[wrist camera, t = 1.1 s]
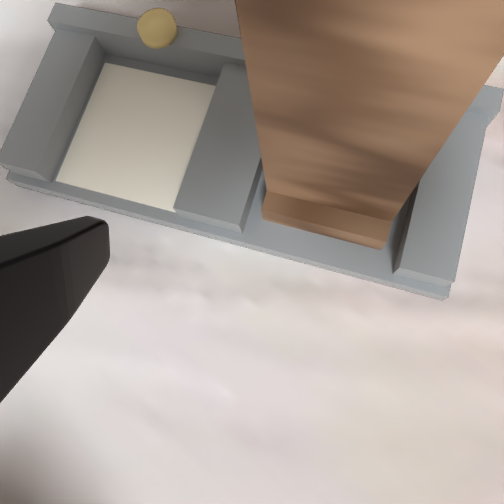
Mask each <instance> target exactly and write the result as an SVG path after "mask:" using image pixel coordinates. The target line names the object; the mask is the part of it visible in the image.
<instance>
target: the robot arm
mask: <svg viewBox="0 0 504 504" xmlns="http://www.w3.org/2000/svg"><path fill="white" fill-rule="evenodd" d="M109 258H110V243H109V227H108V224H107V223H106V222H105V221H104V220H101V219H97V218H94V217H90V216H85V217H81V218H76V219H72V220H68V221H63V222H59V223H54V224H50V225H46V226H41V227H37V228H33V229H28V230H24V231H20V232H15V233H11V234H7V235H2V236H0V403H1V402H2V400H3V399H4V398H5V397H6V396H7V394H8V393H9V392H10V391H11V390H12V388H13V387H14V386H15V385H16V384H17V383H18V381H19V380H20V379H21V378H22V377H23V375H24V374H25V373H26V372H27V371H28V369H29V368H30V367H31V366H32V365H33V364H34V362H35V361H36V360H37V359H38V358H39V356H40V355H41V354H42V353H43V352H44V350H45V349H46V348H47V347H48V346H49V345H50V343H51V342H52V341H53V340H54V339H55V337H56V336H57V335H58V334H59V333H60V331H61V330H62V329H63V328H64V327H65V325H66V324H67V323H68V322H69V320H70V319H71V318H72V316H73V315H74V313H75V312H76V311H77V309H78V308H79V306H80V305H81V303H82V302H83V300H84V299H85V297H86V296H87V294H88V293H89V291H90V290H91V288H92V287H93V285H94V284H95V282H96V281H97V279H98V278H99V276H100V275H101V273H102V272H103V270H104V269H105V267H106V266H107V264H108V261H109Z"/></svg>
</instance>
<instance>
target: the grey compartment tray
mask: <svg viewBox="0 0 504 504" xmlns="http://www.w3.org/2000/svg"><path fill="white" fill-rule="evenodd" d="M47 21H48V22H49V24H50V25H51V26H52V28H53V29H54V30H55V33H54V35H53V37H52V40H51V42H50V44H49V46H48V48H47V51H46V53H45V55H44V57H43V59H42V62H41V64H40V66H39V68H38V70H37V72H36V75H35V77H34V79H33V81H32V83H31V86H30V88H29V90H28V92H27V94H26V97H25V99H24V101H23V103H22V105H21V108H20V110H19V112H18V114H17V116H16V119H15V121H14V123H13V125H12V127H11V130H10V132H9V134H8V136H7V138H6V141H5V143H4V145H3V147H2V149H1V151H0V165H2V166H3V167H5V168H6V169H8V170H9V173H8V175H7V177H6V179H7V180H9V181H10V182H12V183H14V184H15V185H17V186H20V187H24V188H28V189H31V190H35V191H39V192H43V193H46V194H50V195H54V196H57V197H61V198H65V199H68V200H72V201H76V202H79V203H83V204H87V205H91V206H94V207H98V208H102V209H105V210H109V211H113V212H116V213H120V214H124V215H128V216H131V217H135V218H139V219H142V220H146V221H150V222H153V223H157V224H161V225H165V226H168V227H172V228H176V229H179V230H183V231H187V232H190V233H194V234H198V235H202V236H205V237H209V238H213V239H216V240H220V241H224V242H227V243H231V244H235V245H239V246H242V247H246V248H250V249H253V250H257V251H261V252H264V253H268V254H272V255H276V256H279V257H283V258H287V259H290V260H294V261H298V262H301V263H305V264H309V265H313V266H316V267H320V268H324V269H327V270H331V271H335V272H338V273H342V274H346V275H350V276H353V277H357V278H361V279H364V280H368V281H372V282H375V283H379V284H383V285H387V286H390V287H394V288H398V289H401V290H405V291H409V292H412V293H416V294H420V295H424V296H427V297H431V298H435V299H438V300H444V299H446V298H448V297H449V292H450V288H451V284H452V283H453V282H455V277H456V272H457V267H458V263H459V258H460V253H461V248H462V243H463V238H464V233H465V228H466V224H467V219H468V214H469V209H470V204H471V199H472V194H473V189H474V184H475V180H476V175H477V170H478V165H479V160H480V155H481V150H482V145H483V141H484V136H485V131H486V128H487V126H488V125H489V124H490V123H491V121H492V120H493V119H494V118H495V116H496V115H497V114H498V113H499V111H500V107H501V102H502V97H503V92H504V89H502V88H497V87H492V86H486V85H483V87H482V88H481V90H480V91H479V93H478V94H477V96H476V97H475V99H474V100H473V102H472V103H471V105H470V106H469V108H468V109H467V111H466V112H465V114H464V115H463V117H462V118H461V119H460V121H459V122H458V124H457V125H456V127H455V128H454V130H453V131H452V133H451V134H450V136H449V137H448V139H447V140H446V142H445V143H444V145H443V146H442V148H441V149H440V151H439V152H438V154H437V155H436V157H435V158H434V160H433V161H432V163H431V164H430V166H429V167H428V169H427V170H426V172H425V173H424V175H423V176H422V178H421V179H420V181H419V182H418V184H417V185H416V187H415V188H414V190H413V191H412V192H411V194H410V195H409V197H408V198H407V200H406V201H405V203H404V204H403V206H402V207H401V209H400V210H399V212H398V213H397V215H396V216H395V218H394V219H393V221H392V223H391V227H390V231H389V235H388V239H387V243H386V244H385V245H384V247H383V248H382V249H381V250H378V249H374V248H370V247H366V246H363V245H359V244H355V243H351V242H347V241H343V240H339V239H335V238H332V237H328V236H324V235H320V234H316V233H312V232H308V231H304V230H301V229H297V228H293V227H289V226H285V225H281V224H277V223H273V222H270V221H266V220H263V217H262V212H261V208H262V205H263V202H264V199H265V196H266V192H267V189H266V183H265V177H264V171H263V165H262V159H261V153H260V147H259V141H258V135H257V129H256V123H255V117H254V111H253V105H252V99H251V93H250V88H249V82H248V76H247V70H246V64H245V58H244V52H243V46H242V40H241V38H237V37H232V36H226V35H221V34H216V33H211V32H206V31H200V30H195V29H190V28H185V27H180V26H177V25H176V22H175V20H174V17H173V15H172V14H171V13H170V12H169V11H168V10H165V9H162V8H155V9H151V10H148V11H147V12H145V13H144V14H143V15H142V16H141V17H140V18H139V19H138V18H133V17H128V16H122V15H117V14H112V13H107V12H102V11H96V10H91V9H86V8H81V7H76V6H70V5H65V4H60V3H55V5H54V7H53V9H52V11H51V14H50V16H49V18H48V20H47Z"/></svg>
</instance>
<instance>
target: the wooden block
mask: <svg viewBox="0 0 504 504" xmlns="http://www.w3.org/2000/svg"><path fill="white" fill-rule="evenodd" d="M235 4H236V10H237V16H238V22H239V28H240V34H241V40H242V46H243V52H244V58H245V64H246V70H247V76H248V82H249V88H250V93H251V99H252V105H253V111H254V117H255V123H256V129H257V135H258V141H259V147H260V153H261V159H262V165H263V171H264V177H265V183H266V189H267V192H266V196H265V199H264V202H263V205H262V208H261V212H262V217H263V220H266V221H270V222H273V223H277V224H281V225H285V226H289V227H293V228H297V229H301V230H304V231H308V232H312V233H316V234H320V235H324V236H328V237H332V238H335V239H339V240H343V241H347V242H351V243H355V244H359V245H363V246H366V247H370V248H374V249H378V250H381V249H382V248H383V247H384V245H385V244H386V243H387V239H388V235H389V231H390V227H391V223H392V221H393V219H394V218H395V216H396V215H397V213H398V212H399V210H400V209H401V207H402V206H403V204H404V203H405V201H406V200H407V198H408V197H409V195H410V194H411V192H412V191H413V190H414V188H415V187H416V185H417V184H418V182H419V181H420V179H421V178H422V176H423V175H424V173H425V172H426V170H427V169H428V167H429V166H430V164H431V163H432V161H433V160H434V158H435V157H436V155H437V154H438V152H439V151H440V149H441V148H442V146H443V145H444V143H445V142H446V140H447V139H448V137H449V136H450V134H451V133H452V131H453V130H454V128H455V127H456V125H457V124H458V122H459V121H460V119H461V118H462V117H463V115H464V114H465V112H466V111H467V109H468V108H469V106H470V105H471V103H472V102H473V100H474V99H475V97H476V96H477V94H478V93H479V91H480V90H481V88H482V87H483V85H484V84H485V82H486V81H487V79H488V78H489V76H490V75H491V73H492V72H493V70H494V69H495V67H496V66H497V64H498V63H499V61H500V60H501V58H502V57H503V55H504V0H235Z"/></svg>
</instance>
